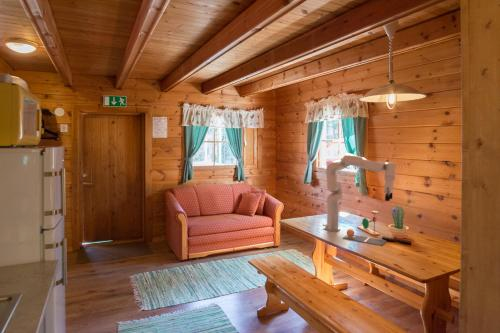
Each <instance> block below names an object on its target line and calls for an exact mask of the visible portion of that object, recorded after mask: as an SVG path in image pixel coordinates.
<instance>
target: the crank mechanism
mask: <svg viewBox="0 0 500 333" xmlns="http://www.w3.org/2000/svg"><path fill="white" fill-rule="evenodd" d="M371 214H373V216H372V219H371V220H369V219H368V218H367V217H363V218H362V222H361V224H362V225H359V226H356V227H357V229H358V230H360V231H363V232H364V233H366V234H369V235H370V236H372V237H373V236H374V237H377V236H380V234H381V233H379V232H377V231H375V230H376V229H375V228H376V227H375V226H376V223H377V220H378V218H377V215H379V214H380V212H379V211H377V210H371ZM371 222H373V229H370V228H369V225H370V223H371Z"/></svg>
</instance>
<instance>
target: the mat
mask: <svg viewBox="0 0 500 333" xmlns="http://www.w3.org/2000/svg"><path fill="white" fill-rule="evenodd" d="M342 239H343V240H348V241H354V242H359V243H364V244H369V245H370V244H371V245H376V246H382V247H383V246H384V245H385V244H386V242H387V240H386V239H379V238H375V237H374V238H372V237H369V236H368V237H367V236H361V235H355V234H354V236H352V237H349V236H348V235H347V234H346V235H345V236H343V237H342Z"/></svg>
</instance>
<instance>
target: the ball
mask: <svg viewBox="0 0 500 333" xmlns="http://www.w3.org/2000/svg"><path fill="white" fill-rule="evenodd" d="M346 235H348V236H349V237H352V236H354V235H355V231H354V230H353V229H351V228H348V229H347V231H346Z"/></svg>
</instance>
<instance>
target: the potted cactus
mask: <svg viewBox="0 0 500 333" xmlns="http://www.w3.org/2000/svg"><path fill="white" fill-rule="evenodd" d="M390 212H391V217H392V220H393V224H388V226H387V227H388V229H389V231H390V233H391V237H393V238H395V237H396V239H403V238H405V235H406V234H407V233H408V231H409V229H410V228H409V226H407V225H404V218H405V210H404V208H403V207H402V206H401V205H395V206H394V207H393V208H392V209H391V210H390Z"/></svg>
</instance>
